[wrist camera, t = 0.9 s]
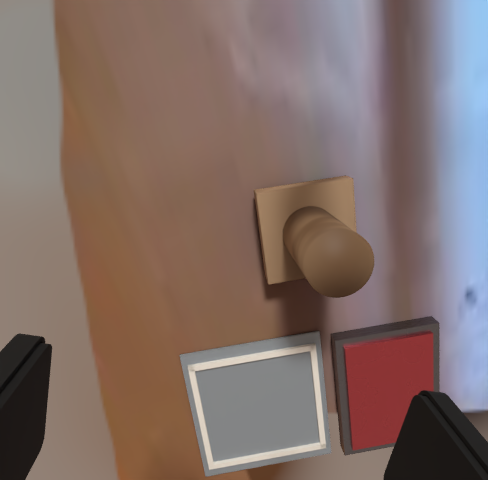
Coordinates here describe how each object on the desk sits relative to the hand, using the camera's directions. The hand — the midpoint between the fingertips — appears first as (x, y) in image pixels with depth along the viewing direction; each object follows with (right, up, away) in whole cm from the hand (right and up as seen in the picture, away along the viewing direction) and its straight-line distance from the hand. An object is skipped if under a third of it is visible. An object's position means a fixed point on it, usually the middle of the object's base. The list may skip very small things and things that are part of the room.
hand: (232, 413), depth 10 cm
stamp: (+5, +6, +22) cm, 23 cm away
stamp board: (+2, -10, +26) cm, 28 cm away
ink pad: (+13, -9, +26) cm, 31 cm away
